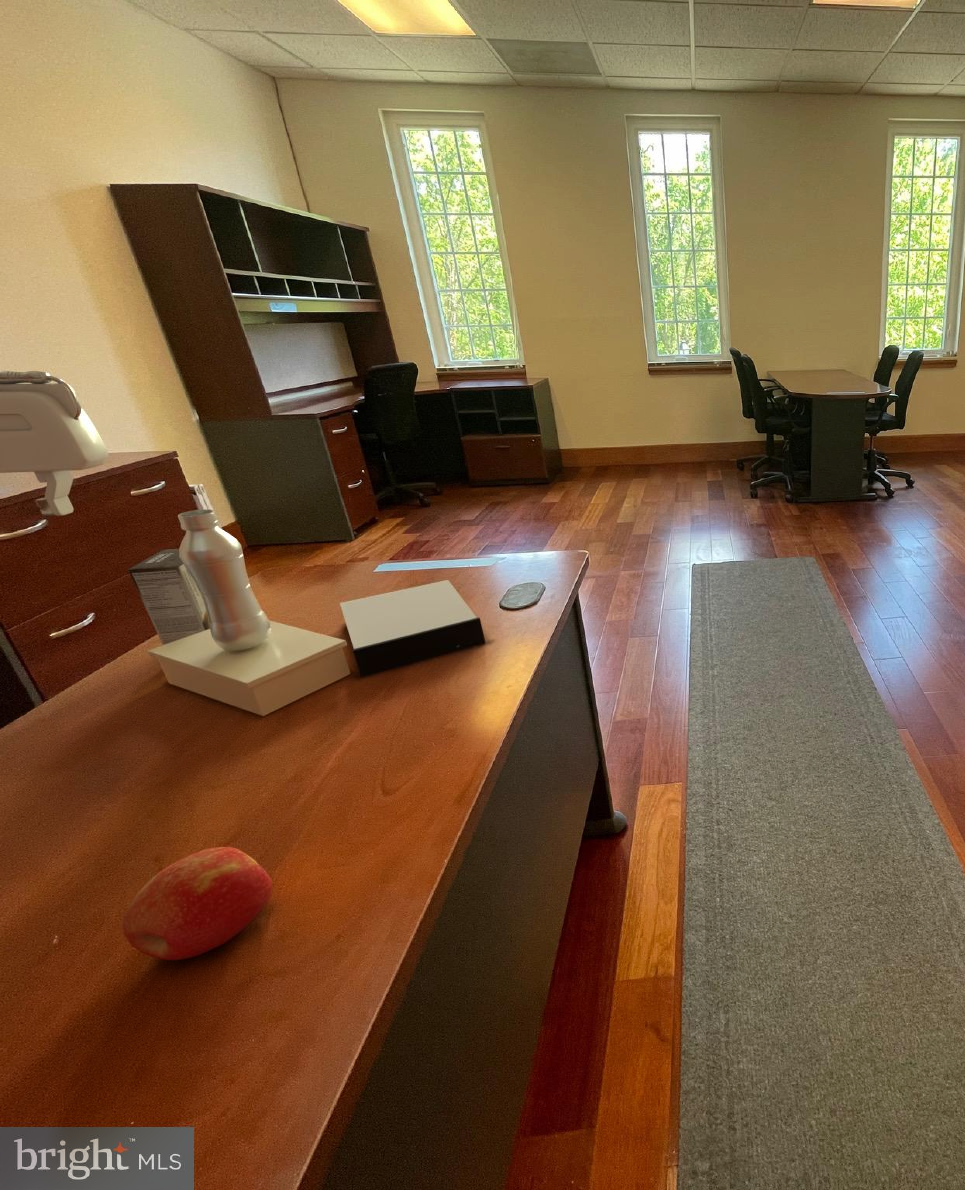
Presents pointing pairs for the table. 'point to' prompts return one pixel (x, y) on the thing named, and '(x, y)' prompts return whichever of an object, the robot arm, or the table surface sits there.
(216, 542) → the plastic bottle
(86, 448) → the robot arm
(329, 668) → the flat beige lidded box
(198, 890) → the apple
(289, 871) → the table surface
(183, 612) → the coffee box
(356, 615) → the disc drive
